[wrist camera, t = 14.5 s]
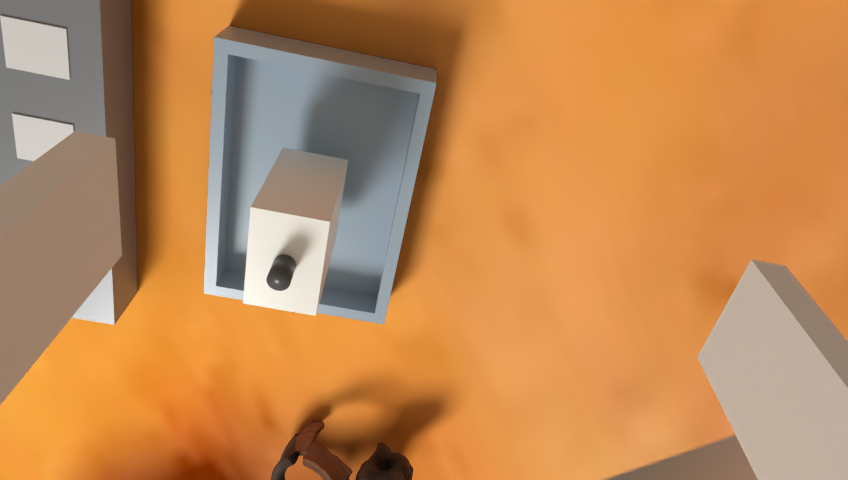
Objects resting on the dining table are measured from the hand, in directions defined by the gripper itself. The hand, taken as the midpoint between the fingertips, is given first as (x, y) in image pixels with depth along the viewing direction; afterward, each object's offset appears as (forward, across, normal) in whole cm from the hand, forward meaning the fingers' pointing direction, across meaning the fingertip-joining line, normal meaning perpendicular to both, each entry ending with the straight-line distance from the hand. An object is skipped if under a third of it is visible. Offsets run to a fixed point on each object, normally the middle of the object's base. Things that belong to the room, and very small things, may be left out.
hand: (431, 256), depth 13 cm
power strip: (+27, -21, -9) cm, 36 cm away
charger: (+27, -6, -13) cm, 30 cm away
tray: (+27, -6, -13) cm, 31 cm away
